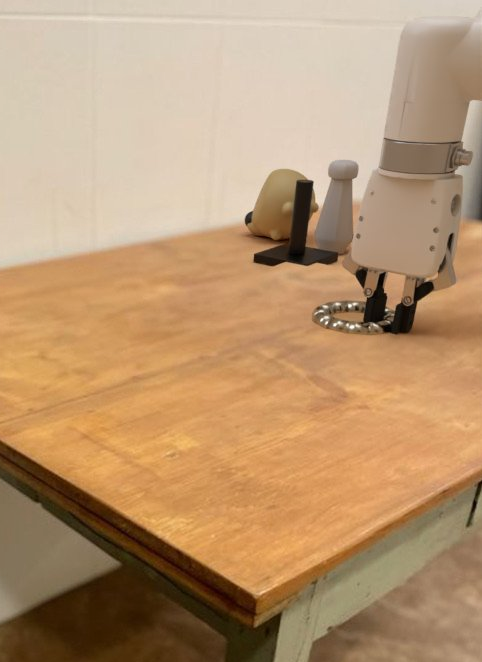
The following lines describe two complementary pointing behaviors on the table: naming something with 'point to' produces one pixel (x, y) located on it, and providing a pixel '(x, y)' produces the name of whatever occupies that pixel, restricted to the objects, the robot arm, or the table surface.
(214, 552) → the table surface
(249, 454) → the table surface
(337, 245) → the salt shaker
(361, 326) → the beaded metal ring
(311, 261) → the stand
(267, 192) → the toy pig
